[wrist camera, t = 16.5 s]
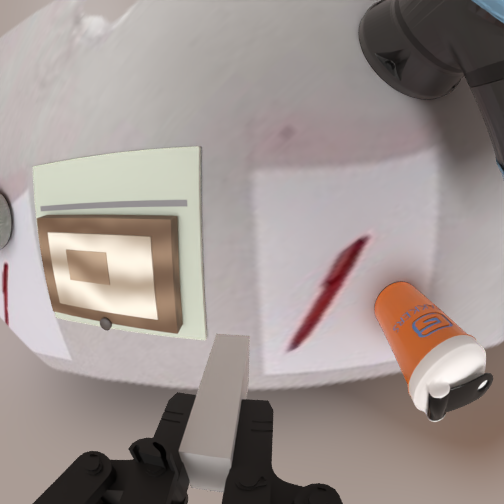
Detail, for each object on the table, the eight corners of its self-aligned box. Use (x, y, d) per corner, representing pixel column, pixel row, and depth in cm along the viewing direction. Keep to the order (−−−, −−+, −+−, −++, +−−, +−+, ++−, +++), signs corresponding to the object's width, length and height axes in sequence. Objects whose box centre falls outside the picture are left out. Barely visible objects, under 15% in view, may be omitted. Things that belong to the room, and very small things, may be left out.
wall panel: (36, 166, 35) (32, 166, 34) (201, 146, 33) (198, 146, 32) (59, 315, 42) (55, 318, 41) (207, 336, 41) (205, 340, 40)
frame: (47, 214, 35) (34, 219, 32) (177, 215, 34) (168, 220, 31) (62, 309, 40) (52, 317, 37) (183, 329, 39) (177, 341, 36)
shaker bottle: (427, 313, 37) (495, 398, 18) (377, 339, 39) (425, 441, 20) (415, 264, 35) (502, 341, 16) (359, 293, 37) (417, 395, 18)
